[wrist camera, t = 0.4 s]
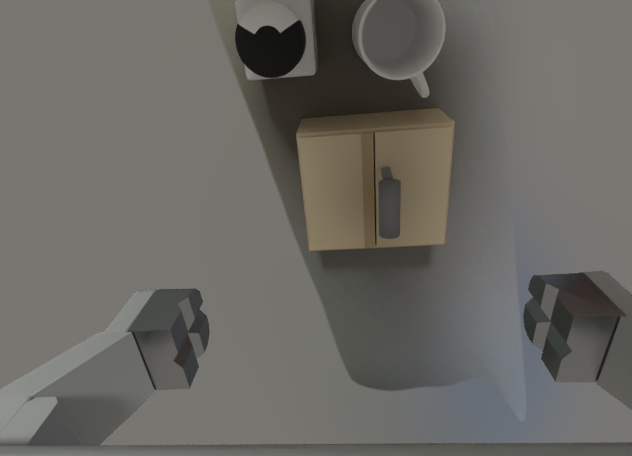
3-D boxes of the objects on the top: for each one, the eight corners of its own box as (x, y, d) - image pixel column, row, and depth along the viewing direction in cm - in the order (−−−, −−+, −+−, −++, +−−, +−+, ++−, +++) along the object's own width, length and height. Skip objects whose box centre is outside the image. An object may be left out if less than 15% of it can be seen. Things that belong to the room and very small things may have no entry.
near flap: (374, 131, 44) (379, 147, 39) (451, 126, 43) (467, 140, 38) (376, 246, 51) (380, 271, 46) (442, 242, 51) (454, 268, 45)
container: (318, 67, 49) (313, 82, 37) (258, 72, 50) (234, 88, 38) (313, -4, 45) (305, -11, 34) (248, 3, 46) (219, -3, 34)
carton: (301, 118, 52) (295, 135, 44) (438, 107, 50) (456, 123, 43) (312, 223, 59) (308, 253, 52) (432, 217, 58) (446, 246, 50)
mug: (441, 73, 49) (470, 89, 38) (378, 105, 51) (389, 127, 40) (408, -26, 44) (430, -41, 33) (340, 13, 46) (340, 11, 35)
